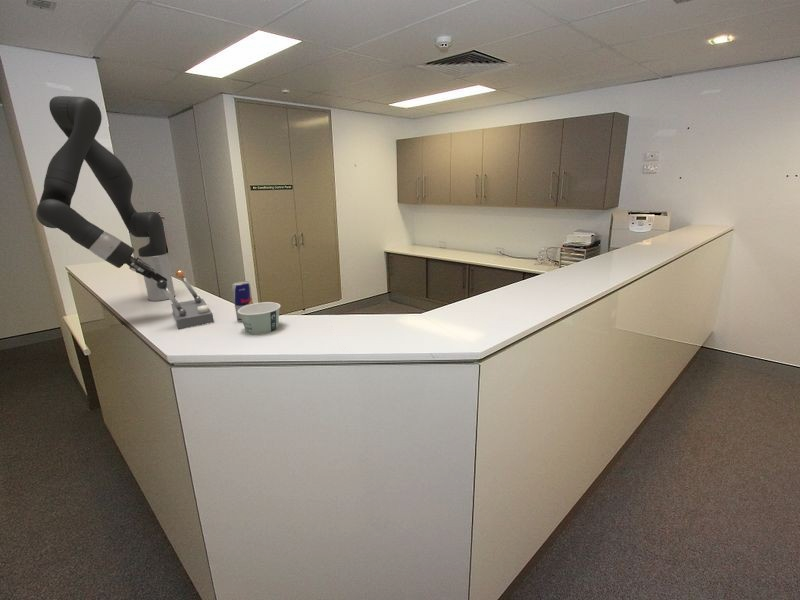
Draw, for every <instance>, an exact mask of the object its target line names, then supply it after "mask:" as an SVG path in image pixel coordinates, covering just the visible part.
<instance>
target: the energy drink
mask: <svg viewBox="0 0 800 600" xmlns="http://www.w3.org/2000/svg"><path fill="white" fill-rule="evenodd" d="M231 285H232V286H231V291H232V296H233V297H232V298H233V303H234V308H235V309H234V310H235V316H236V320H237V322H239V323H243V321H242V319H241V316H240V314H239V313H238V309H240V308H241V307H243V306H246V305H250V304H254V302H253V296H252V295H253V294H252V288H251V284H250V282H249V281H247V280H243V281H236V282H233V283H232V284H231Z"/></svg>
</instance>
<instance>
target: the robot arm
mask: <svg viewBox="0 0 800 600" xmlns="http://www.w3.org/2000/svg"><path fill="white" fill-rule="evenodd" d="M48 106H49V111H50V114H51V116H52V118H53V120H54V122H55V123H56V124H57V126H58V127H59V128H60V130H61V132H62V133H64V135H65V136H66V137H67V140H66V141H65V143H64V144H63V145H62V146H61V147H60V148H59V149H58V150H57V152H56V153H55V154H54V155H53V156H52V158H51V159H50V161H49V163H48V165H47V168H46V173H45V176H44V177H45V178H44V182H43V190H42V194H41V197H40V200H39V203H38V205H37V208H36V212H35V213H36V214H35V216H36V219H37V221H38V222H39V223H40V224H41V225H42V226H44V227H46V228H48V229H49V228H50V229H59V230H60V231H61V232H63V233H65V234H67V235H68V236H69V237H70V239H71V240H73V241H74V242H75V243H77V244H78V245H80V246H81V247H84V248H85V249H87V250H89V252H91V253H93V254H94V255H95V256H97V257H98V258H100V259H102V260H104V261H106V262H107V263H109V264H110V265H112V266H114V267H115V268H117V269H120V268H122V267H123V266H124V265H127V266H128V267H129V270H131V271H132V272H135V273H137V274H138V275H141V276H143V279H144V283H145V288H146V292H147V297H148V300H149V301H152V302H156V301H157V302H159V301H160V302H161V301H165V300H170V299H169V298H168V296H167V295H166V294H165V292H164V291H163V290H162V289H159V288H158V287H157V285H156V284H157V282H158V281H159V280H165V281H166V282H167V288H168V289H169V290H170V292H171V293H172V295H173V296H175V297H176V293H175V292H176V291H175V287H174V286H175V285H174V282H173V277H172V271H171V267H170V263H169V262H170V261H169V256H168V254H167V253H168V252H167V240H166V233H165V227H164V221H163V219H162V216H161V215H160V214H159V213H158V212H155V211H142V212H140V211H137V210H136V209H135V208H134V205H133V203H132V193H133V189H134V181H133V178H132V176H131V175H130V173H129V171H128V169H127V168H126V166H125V164H124V163H123V162H122V160H120V158H119V157H117V156H116V155H115V154H114V153H113V152H112V151H110V150H109V149H108V148H106V147H105V146H104V145H103V144H102V143H100V142H99V141H98V140H97V139H96V136H97V134H98V132H99V130H100V128H101V123H102V117H103V116H102V111H101V109H100V107H99V105H98V104H97V102H96V101H94V100H93V99H91V98H89V97H83V96H71V95H70V96H68V95H67V96H66V95H58V96H53V97H52V98H51V99H50V100H49V105H48ZM84 161H85V163H86V164H87V165H88V167H89V168H90V171H92V173H93V175H94V176H95V178H96V179H97V181H98V183H99V184H100V185H101V188H102V189H103V190H104V191H105V192H106V194H107V195H108V197H109V199H110V200H111V202H112V203H113V205H114V207H115V208H116V210H117V212H118V214H119V216H120V218H121V220H122V221H123V223H124V225H125V227H126V229H127V230H128V232H129V233H130V234H131V235H132V236H133V237H135V238H149V242H148V243H147V244H146V245H144V246H141V247H139V248H138V250H137V252H138V256H139V257H138V256H137V258H136V257H134V256H132V255H133V254H134V252H135V247H132V246H130V245H129V244H127V243H126V242H124V241H122V240H121V239H119V238H118V237H116V236H115V235H113V234H111V233H109V232H107V231H105V230H103V229H102V228H100V227H98V226H97V225H96V224H94V223H92V222H91V221H88V220H87V219H86V218H85V217H84V216H82V215H81V214H80V213H79V212H77V211H76V210H75V209H73V207H71V204H72V199H73V196H74V194H75V193H76V189H77V185H78V181H79V177H80V173H81V169H82V167H83V163H84Z"/></svg>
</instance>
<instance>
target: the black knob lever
mask: <svg viewBox="0 0 800 600" xmlns="http://www.w3.org/2000/svg"><path fill="white" fill-rule="evenodd" d="M156 285H157V287H158V288H159V289H162V290H163V291H164V292H165V294H166V295H167V296H168V298H169V299H168V300H170V302H171V304H174V306H175V307H176V309H177V310H178V313H179V315H180V316H185V315H186V311H185V309H184V308H182V307H181V306H180V304H179V301H178V300H177V299H176V296H175V297H174V296H173V295H172V293H171V292H170V290H169V289H168V288H167V282H166V281H165V280H159V281H158V282H157V284H156Z"/></svg>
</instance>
